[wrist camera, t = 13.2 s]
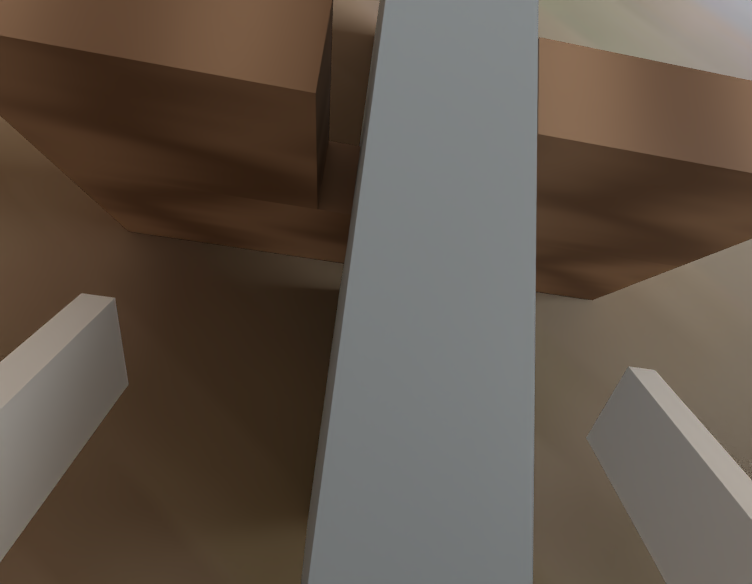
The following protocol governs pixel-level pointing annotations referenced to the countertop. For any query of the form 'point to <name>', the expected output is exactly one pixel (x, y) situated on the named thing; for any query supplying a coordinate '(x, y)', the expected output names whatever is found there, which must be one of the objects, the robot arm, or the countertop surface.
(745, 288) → the countertop surface
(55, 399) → the robot arm
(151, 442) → the countertop surface
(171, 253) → the countertop surface
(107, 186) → the walnut board
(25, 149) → the countertop surface
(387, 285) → the slate plate
